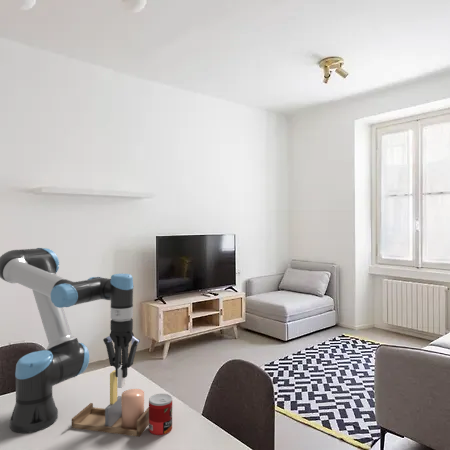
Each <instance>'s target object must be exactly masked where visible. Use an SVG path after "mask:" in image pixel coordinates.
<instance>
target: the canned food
mask: <svg viewBox="0 0 450 450" xmlns="http://www.w3.org/2000/svg"><path fill="white" fill-rule="evenodd" d="M148 407H149V425H148V431H149V433H150V434H152V435H153V436H163V435H167V434H169V433H171V431H172V430H173V396H172V395H170V394H168V393H155V394H154V395H153V394H152V395H151V396H150V397H149V399H148Z"/></svg>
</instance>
